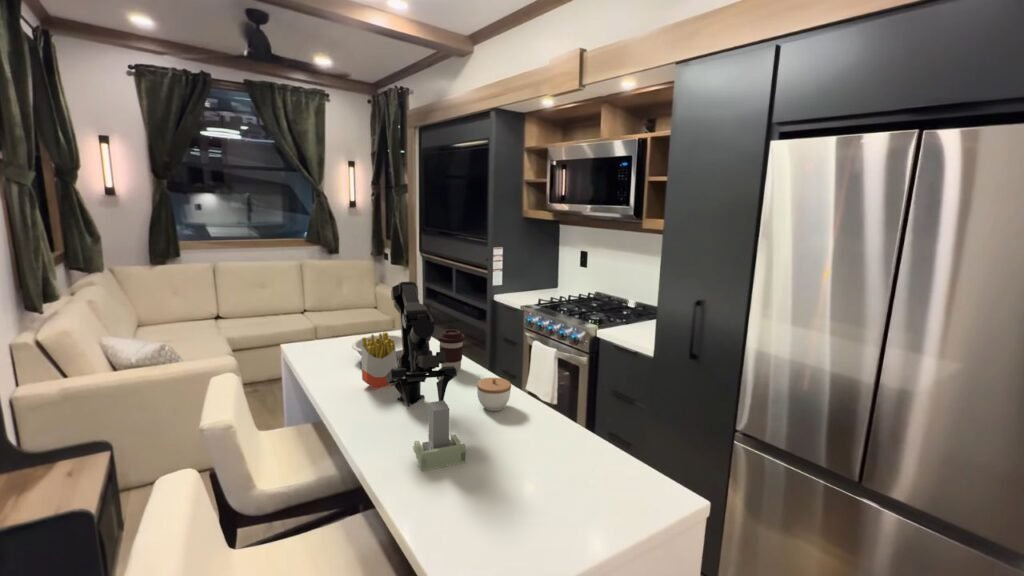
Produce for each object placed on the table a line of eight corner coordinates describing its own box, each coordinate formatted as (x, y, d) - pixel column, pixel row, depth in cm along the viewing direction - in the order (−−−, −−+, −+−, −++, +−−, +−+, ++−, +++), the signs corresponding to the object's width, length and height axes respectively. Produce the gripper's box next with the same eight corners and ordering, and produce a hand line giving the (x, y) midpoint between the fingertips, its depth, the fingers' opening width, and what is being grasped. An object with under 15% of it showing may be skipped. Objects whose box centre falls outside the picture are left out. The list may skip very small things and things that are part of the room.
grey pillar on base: (422, 449, 121) (422, 402, 119) (448, 445, 124) (449, 398, 122) (427, 461, 116) (427, 412, 113) (455, 456, 119) (455, 408, 116)
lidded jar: (494, 396, 156) (495, 370, 155) (517, 407, 149) (518, 379, 147) (469, 405, 149) (470, 377, 147) (492, 417, 141) (493, 388, 140)
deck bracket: (412, 447, 123) (412, 432, 122) (453, 440, 127) (453, 425, 126) (422, 470, 113) (422, 453, 112) (465, 462, 117) (465, 445, 116)
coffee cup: (469, 368, 181) (470, 331, 178) (452, 376, 173) (453, 337, 170) (449, 363, 186) (449, 326, 183) (432, 370, 178) (432, 332, 175)
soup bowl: (406, 370, 177) (406, 353, 176) (342, 368, 177) (342, 351, 176) (419, 350, 201) (419, 335, 200) (363, 348, 201) (363, 333, 200)
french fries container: (397, 383, 164) (397, 334, 161) (367, 391, 157) (366, 339, 154) (391, 379, 168) (391, 331, 164) (362, 386, 161) (361, 335, 158)
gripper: (395, 340, 122) (400, 400, 115) (461, 340, 131) (469, 396, 125) (383, 354, 130) (387, 411, 124) (446, 353, 140) (452, 406, 134)
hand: (425, 405), depth 126 cm, fingers open, 9 cm apart
